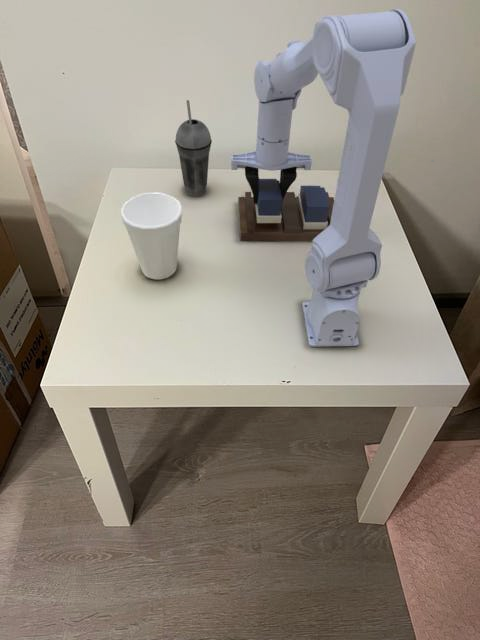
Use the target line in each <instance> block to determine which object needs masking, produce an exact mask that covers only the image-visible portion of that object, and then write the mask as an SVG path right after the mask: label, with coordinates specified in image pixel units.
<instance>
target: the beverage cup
mask: <svg viewBox="0 0 480 640" xmlns="http://www.w3.org/2000/svg"><path fill="white" fill-rule="evenodd" d="M186 107H187V108H186V109H187V117H188V119H187V120H185V121H183V122H182V123H181V124H180V125H179V126H178V128H177V130H176V134H175V140H174V142H175V143H174V144H175V145H176V146H175V147H176V148H177V152H178V157H179V162H180V170H181V175H182V181H183V186H184V191H185V192H184V193H185V194H186V195H187V196H189V197H192V198H199V197H202V196H205V194H206V193H207V186H208V175H209V174H208V173H209V162H210V161H209V159H210V152H211V146H212V143H213V140H212V136H211V133H210V130H209V128H208V126H206V124H205V123H204V122H203V121H201V120H198V119H193V118H192V113H191V105H190V100H189V99H186Z"/></svg>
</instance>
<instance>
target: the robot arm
mask: <svg viewBox="0 0 480 640" xmlns="http://www.w3.org/2000/svg"><path fill="white" fill-rule="evenodd" d="M286 45H287V47H286V48H285V50H284V51H282V52H278V53H277V54H276V55H275V58H273V60H271V61H264V60H259V61H258V62H257V64H256V66H255V68H254V72H253V73H254V74H253V85H254V91H255V95H256V97H257V100H258V110H257V128H256V144H255V145H256V146H255V147H256V148H255V151H250V152H244V153H240V154H239V153H238V154H231V155H230V169H231V171H237V170H238V169H244V175H245V176H244V177H245V179H246V181H247V183H248V185H249V187H250V190H251V194H252V197H253V200H254V204H257V201H258V182H259V179H260V175H259V169H260V170H266V171H270V172H271V171H272V172H273V171H275V172H276V171H279V172H280V173H279V183H280V189H281V195H282V202H283V199H284V196H285V194H286V192H288V190H289V189H290V187H291V186H292V185H293V183H294V182H295V181H296V180H297V176H298V172H297V169H304V170H305V171H311V168H312V162H313V161H312V155H310V154H309V155H308V154H300V153H294V152H290V151H289V147H290V137H291V127H292V118H293V111H294V110H295V109H296V108H297V103H298V99H299V97H300V96H301V93H302V90H303V89H304V88H306V87H307V86H309V85H311V84H312V83H313V82H314V81H315V80H316V79H317V77H318V75H319V76H320V79H321V81H322V82H323V84H324V86H325V88H326V90H327V92H328V93H329V96H330V98H331V99H332V101H333V103H334V104H335V105H336V106H339V107H341V108H344V109H345V110H347V112H348V121H347V127H346V132H345V137H344V138H345V139H344V144H343V149H342V154H341V161H340V165H339V166H340V167H339V171H338V177H337V182H336V187H335V194H334V205H333V210H332V216H331V222H330V225H329V226H328V227H327V228H326V229H325V230H324V231H322V232H321V233H320V234H319V235H318V236H316V237H315V238H314V239H313V241H311V242H312V243H311V247H310V250H309V251H308V252H307V255H306V256H305V261H304V269H305V270H304V271H305V275H306V279H307V281H308V283H309V285H310V286H311V287H312V290H311V296H310V301H302V304H301V305H302V312H303V317H304V324H305V330H306V335H307V341H308V345H309V347H358V346H359V345H360V341H359V338H358V333H357V332H358V330H359V326H360V323H361V315H360V310H359V298H360V295H361V292H362V290H363V289H364V288H366V287H367V285H368V282H369V281H373V280H375V279H376V278H377V277H378V276H379V274H380V271H381V265H382V259H381V252H382V247H383V244H382V241H381V240H380V238H379V237H378V235H377V234H376V232H374V231H373V230H372V229H371V228H370V227H371V223H372V220H373V219H372V218H373V215H374V211H375V207H376V203H377V199H378V194H379V191H380V186H381V182H382V179H383V176H384V175H383V174H384V172H385V171H384V170H385V166H386V163H387V159H388V155H389V151H390V147H391V142H392V139H393V136H394V135H393V134H394V130H395V126H396V123H397V119H398V114H399V110H400V106H401V105H400V104H401V97H402V96H403V94H404V93H405V89H406V86H407V85H406V84H407V82H408V77H409V73H410V69H411V64H412V61H413V56H414V53H415V48H416V45H417V41H416V36H415V33H414V31H413V28H412V23H411V21H410V19H409V17H408V15H407V14H406V12H405V11H404V10H402V9H400V8H392V9H390V10H387V11H377V12H368V13H357V14H356V13H355V14H346V15H345V14H343V15H335V14H326V15H324V16H323V17H322V18H321V19H320V20H318V21H316V22H315V23H314V28H313V33H312V36H311V37H310V38H309V39H308V40H307V41H306V42H303V41H300V40H299V39H297V40H290V41H288V42H287V44H286Z"/></svg>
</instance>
